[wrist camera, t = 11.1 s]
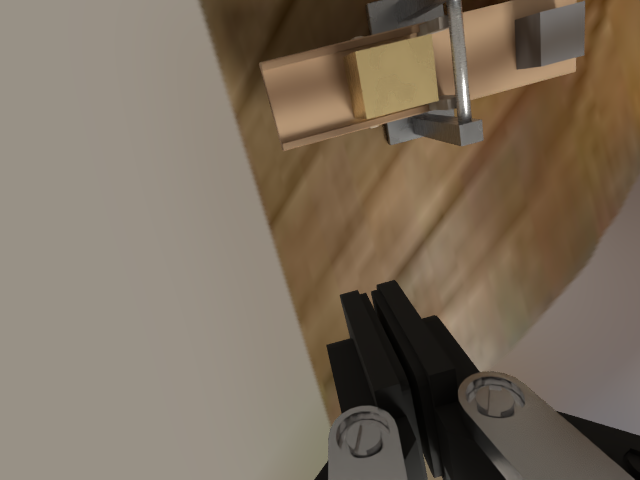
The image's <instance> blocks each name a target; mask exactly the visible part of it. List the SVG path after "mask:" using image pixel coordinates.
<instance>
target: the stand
mask: <svg viewBox="0 0 640 480" xmlns="http://www.w3.org/2000/svg"><path fill="white" fill-rule="evenodd" d="M445 2H446V4H447V14H448V24H449V34H450V44H451V54H452V64H453V75H454V85H455V95H456V105H457V115H458V117H454V109H451V110H432V111H429V112H425V113H421V114H418V115H414V116H410V117H407V118H403V119H399V120H396V121H392V122H388V123H385V126H386V132H387V138H388V144H389V145H393V144H397V143H401V142H404V141H408V140H412V139H416V138H420V137H428V138H431V139H435V140H439V141H443V142H447V143H451V144H454V145H458V146H464V145H468V144H472V143H476V142H480V141H483V128H482V120H481V119H472V117H471V105H470V93H469V82H468V70H467V58H466V47H465V35H464V24H463V12H462V0H381V1H377V2H373V3H369V4H367V5H366V12H367V18H368V24H369V30H370V35H373V34H377V33H382V32H386V31H390V30H394V29H398V28H402V27H406V26H410V25H414V24H418V23H422V22H427V21H431V20H433V19H435V18H438V17H441V16H444V11H443V3H445Z"/></svg>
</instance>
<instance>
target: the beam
mask: <svg viewBox="0 0 640 480" xmlns="http://www.w3.org/2000/svg"><path fill="white" fill-rule="evenodd" d="M463 24H464V35H465V47H466V58H467V70H468V82H469V93H470V100H473V99H477V98H480V97H484V96H488V95H491V94H495V93H499V92H502V91H506V90H510V89H513V88H517V87H521V86H524V85H528V84H532V83H535V82H539V81H543V80H546V79H550V78H554V77H557V76H561V75H565V74H568V73H572V72H576V57H579V56H583V55H584V31H585V1H583V2H579V3H576V0H512V1H508V2H504V3H500V4H496V5H492V6H488V7H484V8H480V9H476V10H471V11H467V12H463ZM428 34H432V41H433V51H434V60H435V70H436V79H437V89H438V98H439V101H436V102H432V103H428V104H424V105H420V106H416V107H413V108H409V109H405V110H401V111H397V112H393V113H389V114H386V115H382V116H378V117H374V118H370V119H359V118H354V115H353V110H352V104H351V99H350V93H349V88H348V83H347V77H346V72H345V67H344V61H343V57H344V56H347V55H349V54H351V53H353V52H356V51H360V50H365V49H369V48H373V47H377V46H381V45H386V44H390V43H394V42H398V41H402V40H407V39H411V38H415V37H419V36H424V35H428ZM259 66H260V69H261V73H262V77H263V81H264V84H265V88H266V92H267V95H268V99H269V103H270V107H271V110H272V114H273V118H274V121H275V125H276V129H277V133H278V136H279V140H280V144H281V147H282V150H283V151H285V150H289V149H293V148H296V147H300V146H304V145H307V144H311V143H315V142H318V141H322V140H326V139H330V138H333V137H337V136H341V135H344V134H348V133H352V132H355V131H359V130H363V129H366V128H370V129H371V128H375V127H378V125H381V124H385V123H388V122H392V121H396V120H399V119H403V118H407V117H410V116H414V115H418V114H421V113H425V112H429V111H432V110H451V109H455V108H457V105H456V95H455V85H454V75H453V64H452V54H451V44H450V34H449V24H448V15H445V16H441V17H438V18H435V19H433V20H431V21H427V22H422V23H418V24H414V25H410V26H406V27H402V28H398V29H394V30H390V31H386V32H382V33H377V34H373V35H369V36H365V37H363V36H358V37H354V38H353V39H351V40H349V41H345V42H341V43H337V44H333V45H328V46H324V47H320V48H316V49H312V50H308V51H304V52H300V53H296V54H292V55H288V56H283V57H279V58H275V59H271V60H267V61H263V62H260V63H259Z"/></svg>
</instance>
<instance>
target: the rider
mask: <svg viewBox="0 0 640 480" xmlns="http://www.w3.org/2000/svg"><path fill="white" fill-rule="evenodd" d="M343 61H344V67H345V72H346V77H347V83H348V88H349V93H350V99H351V104H352V110H353V115H354V118H359V119H370V118H374V117H378V116H382V115H386V114H389V113H393V112H397V111H401V110H405V109H409V108H413V107H416V106H420V105H424V104H428V103H432V102H436V101H439V98H438V89H437V79H436V70H435V60H434V51H433V41H432V34H428V35H424V36H419V37H415V38H411V39H407V40H402V41H398V42H394V43H390V44H386V45H381V46H377V47H373V48H369V49H365V50H360V51H356V52H353V53H351V54H349V55H347V56H344V57H343Z"/></svg>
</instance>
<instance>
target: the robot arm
mask: <svg viewBox="0 0 640 480" xmlns="http://www.w3.org/2000/svg"><path fill="white" fill-rule="evenodd" d="M371 295H372V300H373V304H374V308H373V306H372V304H371V302H370V300H369V298H368V296H367V294H366V293H363V294H359V292H358V290H356V291H352V292H348V293H345V294H341V295H340V298H341V303H342V307H343V311H344V315H345V319H346V323H347V327H348V331H349V335H350V339H346V340H343V341H339V342H335V343H332V344H328V345H327V350H328V355H329V359H330V364H331V368H332V372H333V377H334V381H335V386H336V390H337V395H338V399H339V404H340V408H341V413H342V414H341V415H340V416H339V417H338V418H337V419H336V420H335V421H334V423H333V425H332V427H331V429H330V433H329V438H328V444H329V446H328V461H327V463H326V464H325V466H324V467H323V468H322V470H321V471H320V473H319V474H318V475H317V477H316V478H315V479H314V480H427V473H426V468H425V462H424V457H425V459H426V461H427V464H428V466H429V468H430V471H431V473H432V475H433V477H434V478H436V477H439V476H442V478H443V480H640V436H639V435H636V434H632V433H629V432H626V431H622V430H619V429H615V428H612V427H609V426H605V425H602V424H599V423H595V422H592V421H588V420H585V419H582V418H579V417H575V416H572V415H568V414H565V413H562V412H558V411H555V410H554V409H553V408H552V407H551V406H549V405H548V404H547V403H546V402H545V401H544V400H542V399H541V398H540V397H539V396H538V395H536V394H535V393H534V392H533V391H532V390H531V389H530V388H529V387H527V386H526V385H525V384H524V383H523V382H521V381H519V380H518V379H517V378H515V377H513V376H510V375H507V374H505V373H500V372H494V371H491V372H479V370H478V369H477V368H476V366H475V365H474V364H473V362H472V361H471V360H470V358H469V357H468V356H467V354H466V353H465V352H464V351H463V349H462V348H461V347H460V345H459V344H458V343H457V341H456V340H455V339H454V337H453V336H452V335H451V333H450V332H449V331H448V329H447V328H446V327H445V326H444V324H443V323H442V322H441V320H440V319H439V318H438V317H437V316H435V315H434V316H430V317H426V318H423V319H421V317H420V316H419V314H418V313H417V311H416V310H415V308H414V307H413V305H412V304H411V302H410V301H409V299H408V298H407V297H406V295H405V294H404V292H403V291H402V289H401V288H400V286H399V285H398V283H397V282H396V281H395V280H393V281H389V282H385V283H381V284H378V285H377V290H374V291H371ZM374 309H375V310H374ZM423 454H424V457H423Z"/></svg>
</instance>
